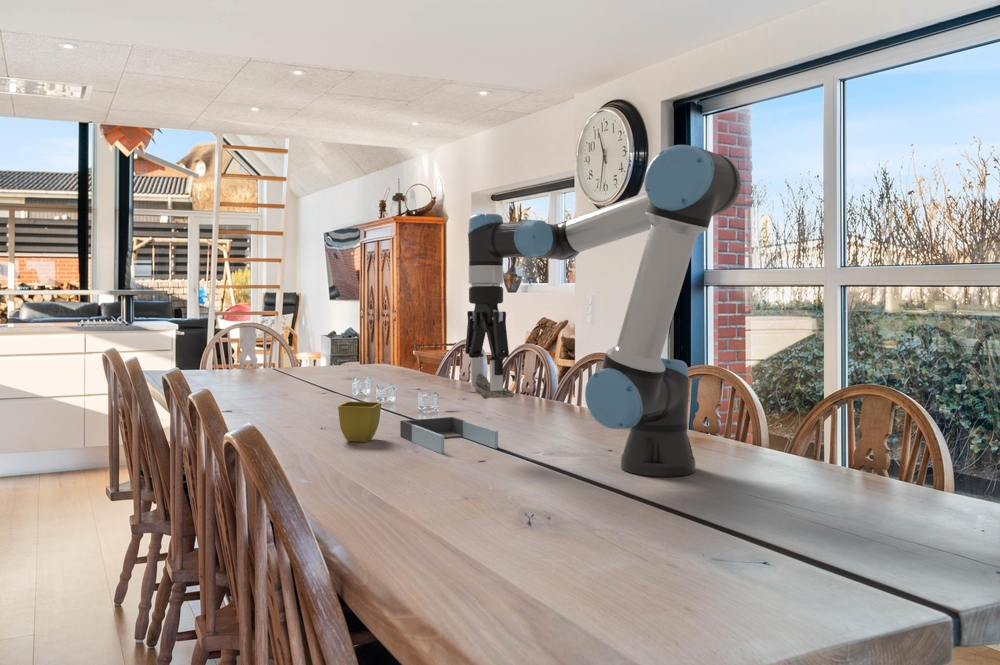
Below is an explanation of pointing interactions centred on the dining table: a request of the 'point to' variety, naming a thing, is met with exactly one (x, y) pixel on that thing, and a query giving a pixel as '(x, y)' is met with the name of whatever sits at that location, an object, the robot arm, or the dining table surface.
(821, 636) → the dining table surface
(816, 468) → the dining table surface
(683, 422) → the robot arm
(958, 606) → the dining table surface
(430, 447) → the strips
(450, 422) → the grey open box
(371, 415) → the flower pot
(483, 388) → the rock sample
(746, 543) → the dining table surface
